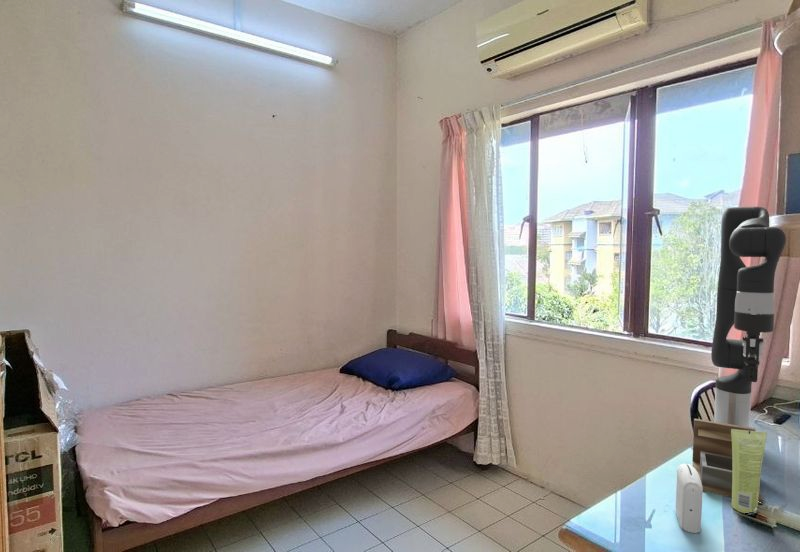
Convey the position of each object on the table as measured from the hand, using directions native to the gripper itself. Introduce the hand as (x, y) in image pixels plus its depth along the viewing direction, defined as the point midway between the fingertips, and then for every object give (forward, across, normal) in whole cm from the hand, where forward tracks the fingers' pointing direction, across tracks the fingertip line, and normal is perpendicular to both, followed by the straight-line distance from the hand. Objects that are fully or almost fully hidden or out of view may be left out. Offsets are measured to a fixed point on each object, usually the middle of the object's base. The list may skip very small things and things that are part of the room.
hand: (751, 377), depth 110 cm
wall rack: (+31, -10, -5) cm, 33 cm away
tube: (+32, +3, 0) cm, 32 cm away
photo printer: (+32, +16, -11) cm, 37 cm away
